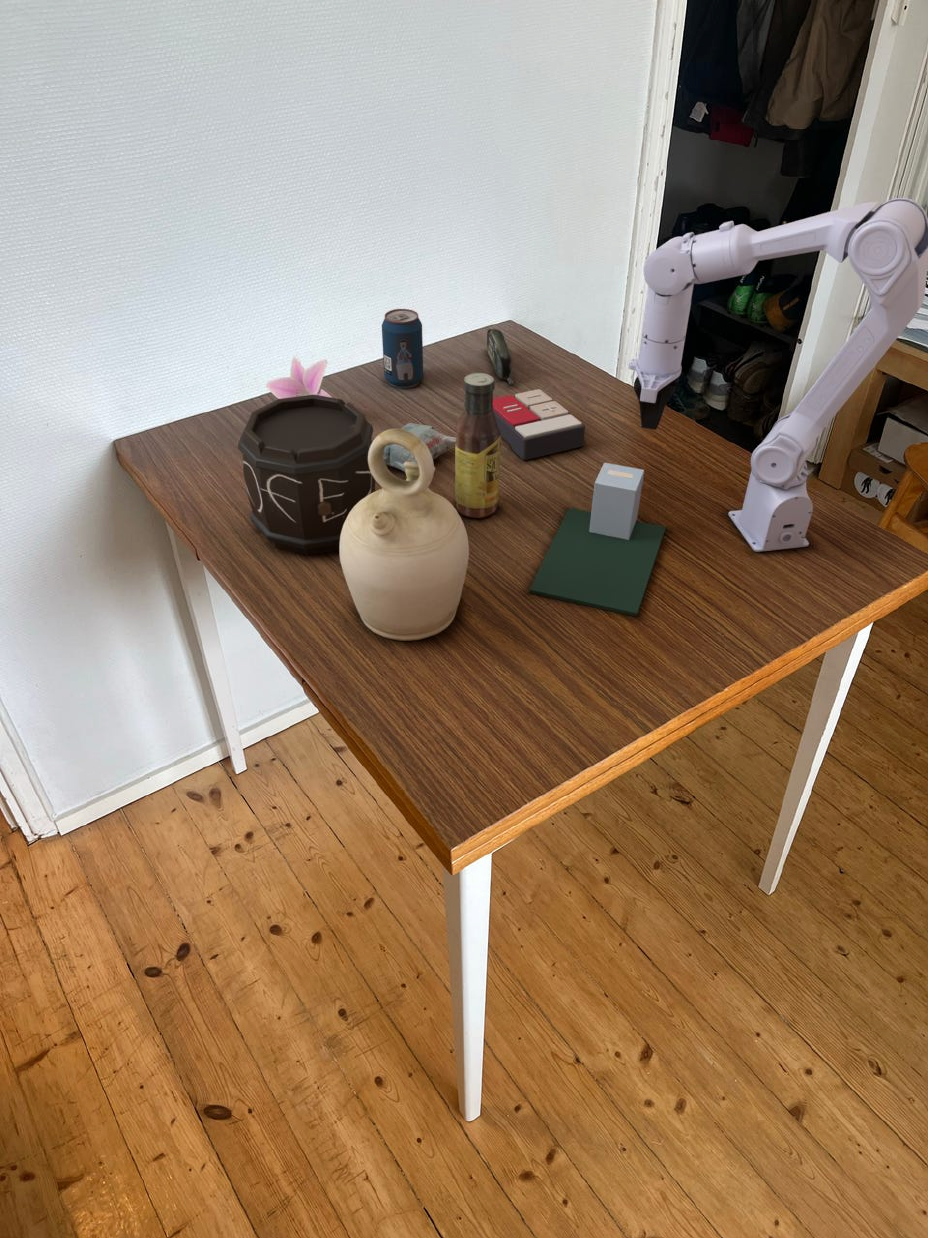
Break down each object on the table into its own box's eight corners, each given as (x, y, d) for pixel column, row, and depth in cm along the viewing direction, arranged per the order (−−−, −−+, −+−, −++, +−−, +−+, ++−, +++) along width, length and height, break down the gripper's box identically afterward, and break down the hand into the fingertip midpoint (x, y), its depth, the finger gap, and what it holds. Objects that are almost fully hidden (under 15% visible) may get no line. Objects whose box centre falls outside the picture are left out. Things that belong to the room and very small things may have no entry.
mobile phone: (484, 326, 171) (501, 359, 159) (500, 325, 171) (518, 358, 160) (484, 352, 174) (500, 386, 162) (500, 351, 174) (517, 385, 163)
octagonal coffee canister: (260, 571, 122) (242, 468, 112) (245, 499, 135) (228, 400, 125) (393, 549, 126) (388, 447, 116) (366, 481, 139) (359, 384, 129)
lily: (268, 411, 158) (247, 377, 149) (324, 372, 159) (307, 336, 150) (304, 457, 153) (285, 425, 144) (362, 416, 154) (346, 382, 145)
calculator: (540, 385, 155) (586, 421, 144) (539, 409, 158) (585, 446, 147) (481, 398, 151) (524, 435, 141) (481, 422, 154) (523, 460, 143)
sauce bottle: (494, 522, 131) (498, 393, 118) (450, 517, 132) (450, 388, 119) (501, 498, 136) (506, 371, 123) (460, 493, 136) (460, 367, 124)
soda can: (407, 368, 168) (405, 303, 160) (431, 382, 164) (430, 316, 156) (376, 379, 165) (372, 313, 157) (399, 393, 161) (397, 326, 153)
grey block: (604, 461, 127) (594, 482, 123) (644, 469, 125) (636, 490, 121) (598, 510, 132) (589, 532, 128) (637, 518, 131) (628, 540, 127)
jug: (402, 557, 124) (394, 385, 108) (493, 604, 117) (498, 427, 101) (320, 614, 115) (297, 435, 99) (412, 668, 108) (404, 485, 92)
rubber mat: (568, 511, 133) (568, 507, 133) (665, 530, 129) (665, 526, 129) (528, 592, 119) (529, 589, 118) (636, 617, 115) (637, 613, 115)
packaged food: (458, 454, 145) (458, 426, 142) (412, 487, 137) (411, 458, 134) (414, 439, 149) (412, 411, 146) (367, 470, 141) (364, 442, 138)
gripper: (643, 310, 128) (631, 399, 137) (622, 352, 118) (611, 446, 127) (694, 316, 127) (679, 406, 136) (678, 360, 116) (662, 454, 125)
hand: (649, 426), depth 131 cm, fingers closed
